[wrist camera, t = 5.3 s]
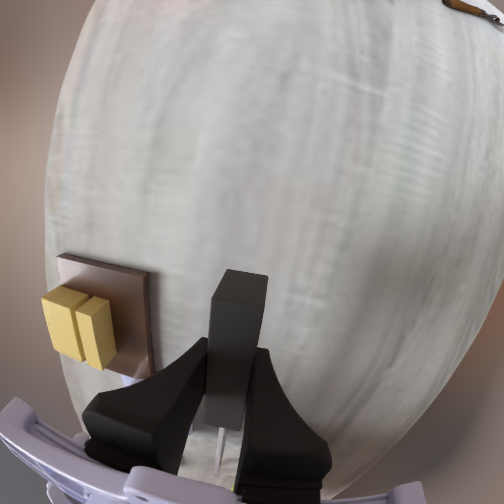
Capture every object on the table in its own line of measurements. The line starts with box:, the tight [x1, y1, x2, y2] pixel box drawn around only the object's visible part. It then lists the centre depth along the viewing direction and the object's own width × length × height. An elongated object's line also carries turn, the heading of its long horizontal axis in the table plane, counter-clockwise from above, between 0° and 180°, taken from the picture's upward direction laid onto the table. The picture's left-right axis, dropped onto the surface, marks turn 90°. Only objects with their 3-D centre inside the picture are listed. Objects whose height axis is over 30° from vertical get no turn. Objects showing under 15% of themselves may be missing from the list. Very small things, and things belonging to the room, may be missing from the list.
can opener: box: [442, 0, 504, 26], centre depth 10 cm, size 9×2×1 cm, turn 97°
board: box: [57, 253, 155, 379], centre depth 23 cm, size 12×10×1 cm
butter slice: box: [75, 296, 117, 371], centre depth 21 cm, size 6×2×3 cm, turn 173°
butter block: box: [41, 286, 89, 362], centre depth 21 cm, size 6×4×3 cm, turn 173°
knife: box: [203, 269, 268, 477], centre depth 14 cm, size 16×2×3 cm, turn 172°
